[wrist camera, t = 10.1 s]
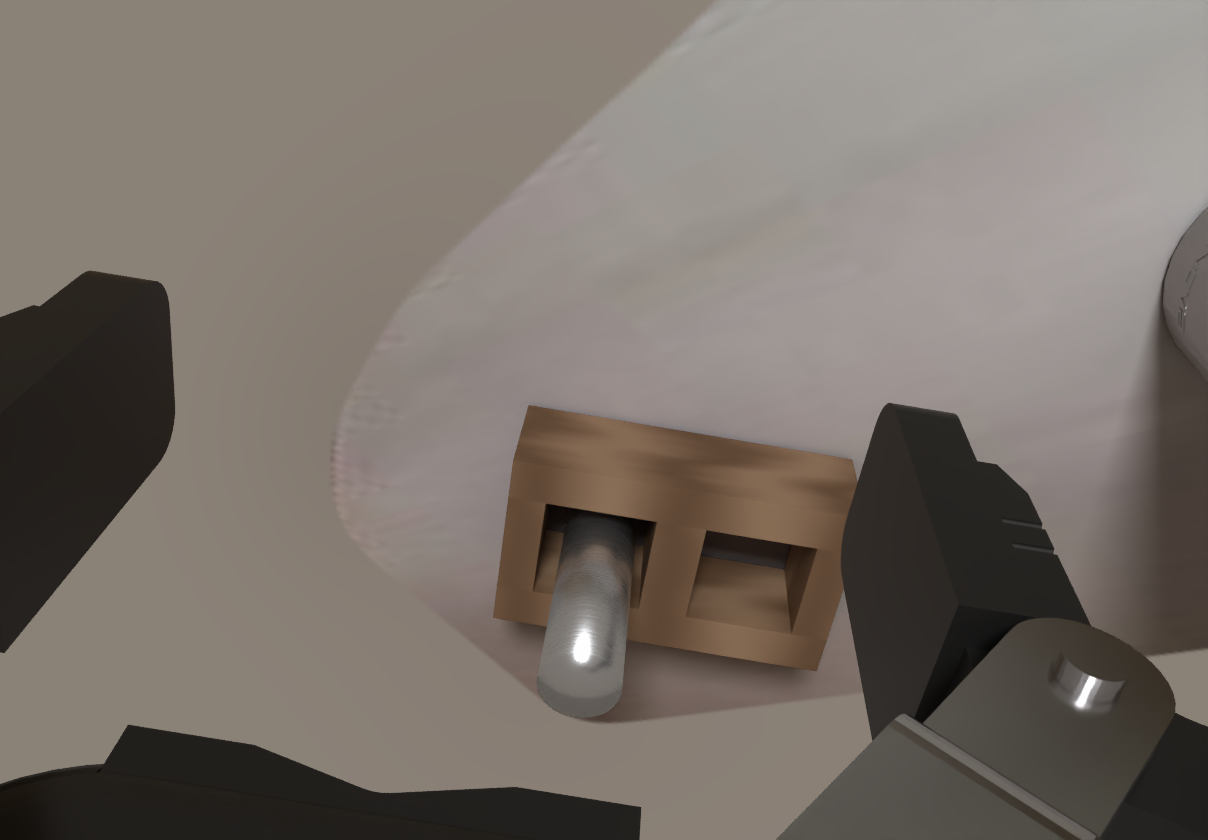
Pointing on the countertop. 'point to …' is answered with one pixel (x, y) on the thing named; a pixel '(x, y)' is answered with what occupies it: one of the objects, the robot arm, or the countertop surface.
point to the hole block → (684, 532)
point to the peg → (588, 615)
